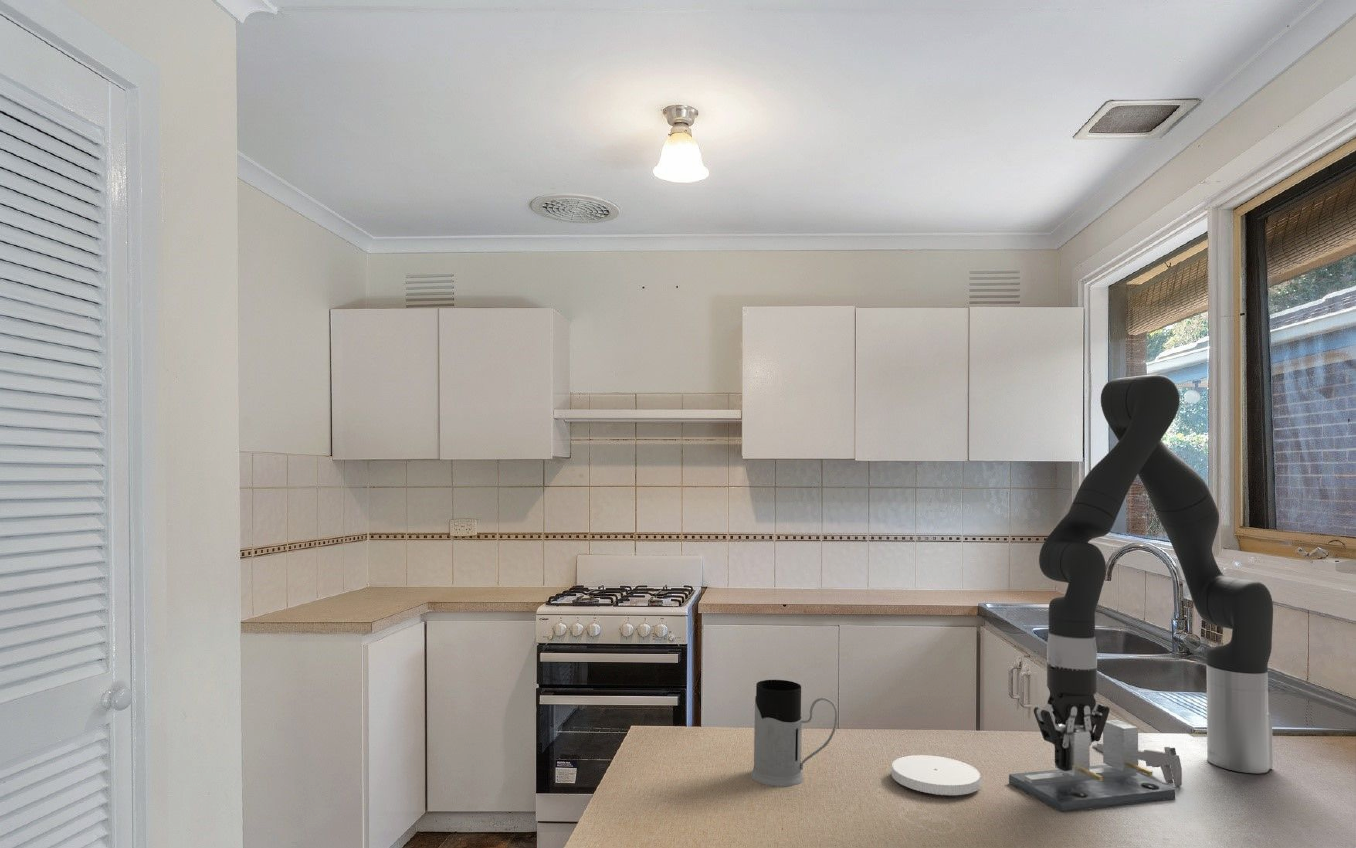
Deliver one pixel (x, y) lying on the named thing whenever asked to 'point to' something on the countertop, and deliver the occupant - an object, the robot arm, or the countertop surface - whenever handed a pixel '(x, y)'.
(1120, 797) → the hole plate
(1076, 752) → the leg
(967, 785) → the plastic lid
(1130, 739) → the fixed leg
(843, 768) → the countertop surface
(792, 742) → the glass holder
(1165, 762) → the caliper
